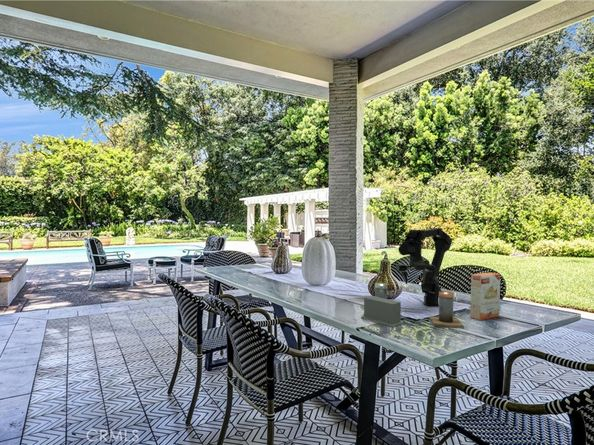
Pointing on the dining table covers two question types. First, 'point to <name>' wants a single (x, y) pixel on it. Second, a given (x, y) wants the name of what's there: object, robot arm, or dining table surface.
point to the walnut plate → (454, 324)
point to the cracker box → (485, 296)
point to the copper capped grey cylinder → (446, 306)
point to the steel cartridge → (381, 290)
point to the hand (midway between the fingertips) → (415, 284)
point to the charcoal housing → (382, 311)
